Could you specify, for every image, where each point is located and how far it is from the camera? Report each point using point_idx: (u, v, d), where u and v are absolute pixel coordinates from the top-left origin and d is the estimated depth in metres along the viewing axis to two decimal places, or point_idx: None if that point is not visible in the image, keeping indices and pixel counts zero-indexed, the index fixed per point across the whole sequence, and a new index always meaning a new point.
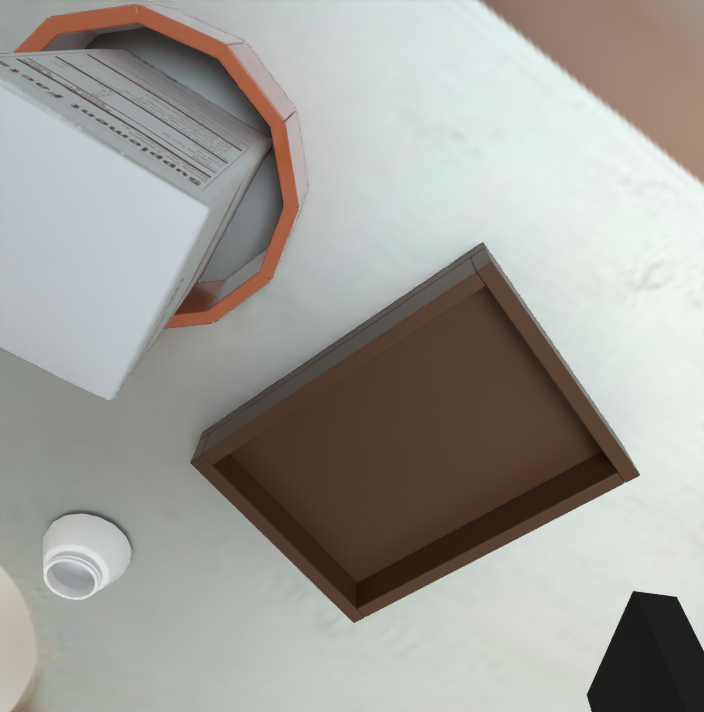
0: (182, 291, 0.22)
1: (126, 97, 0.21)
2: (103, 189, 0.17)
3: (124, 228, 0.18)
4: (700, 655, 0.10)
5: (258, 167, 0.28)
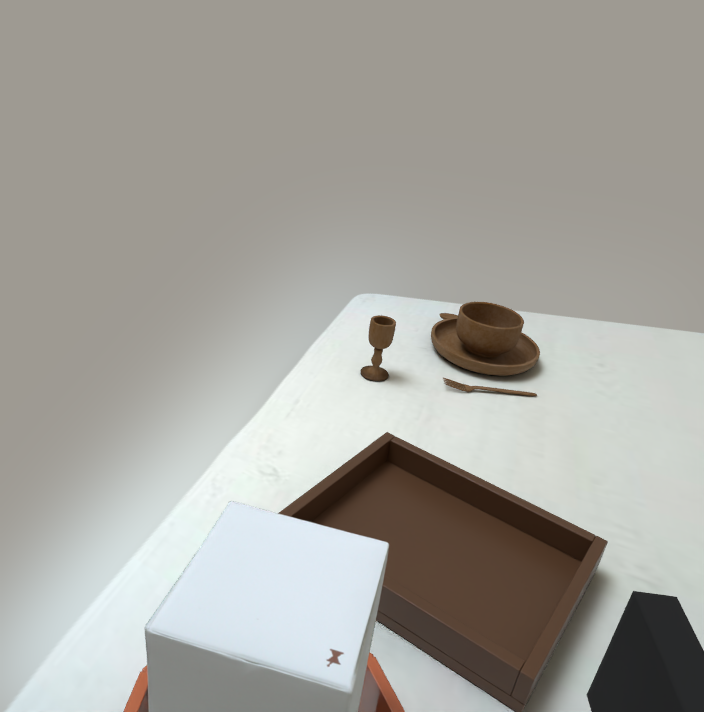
0: None
1: None
2: (227, 545, 0.26)
3: (252, 535, 0.26)
4: (700, 654, 0.10)
5: None
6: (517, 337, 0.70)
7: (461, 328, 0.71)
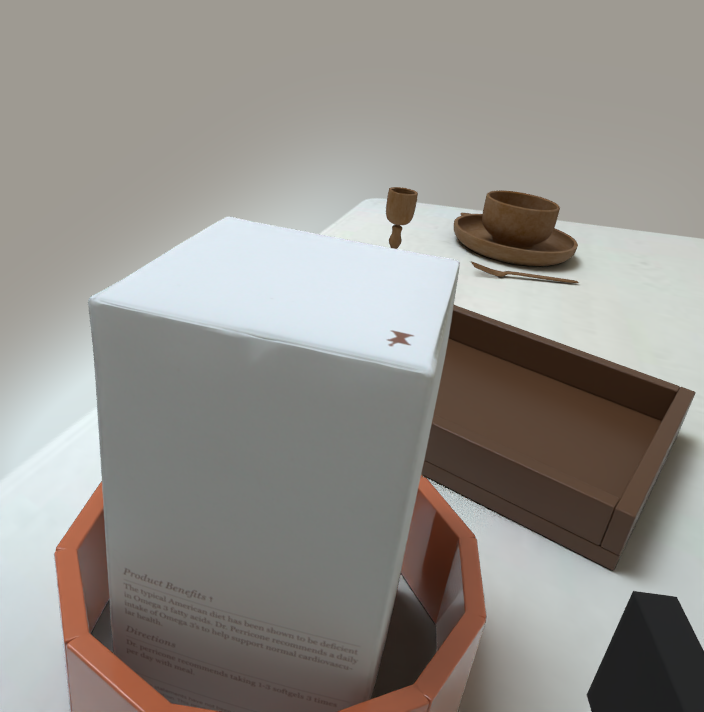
0: None
1: None
2: (223, 243, 0.17)
3: (260, 238, 0.18)
4: (701, 655, 0.10)
5: None
6: (553, 223, 0.62)
7: (489, 214, 0.62)
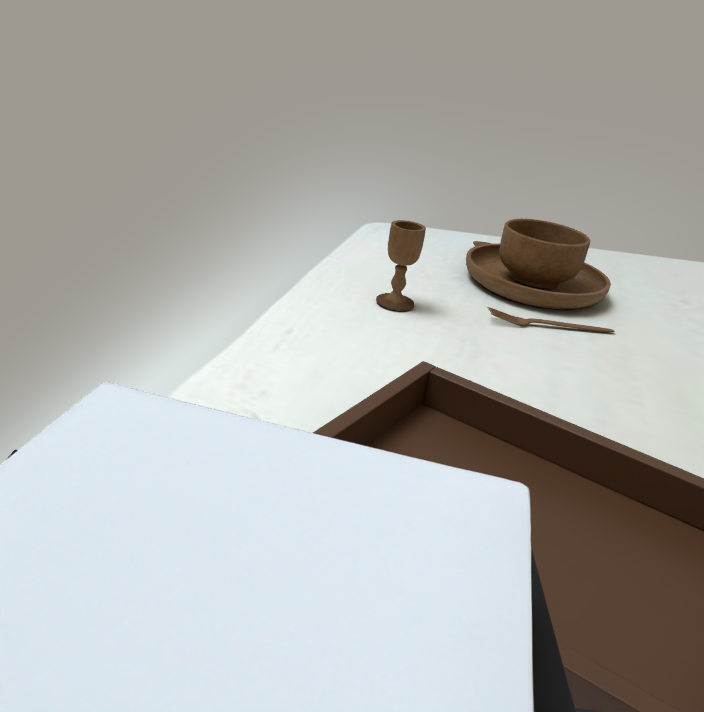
0: None
1: None
2: (59, 484, 0.08)
3: (143, 457, 0.09)
4: (533, 565, 0.12)
5: None
6: (583, 259, 0.53)
7: (508, 248, 0.54)
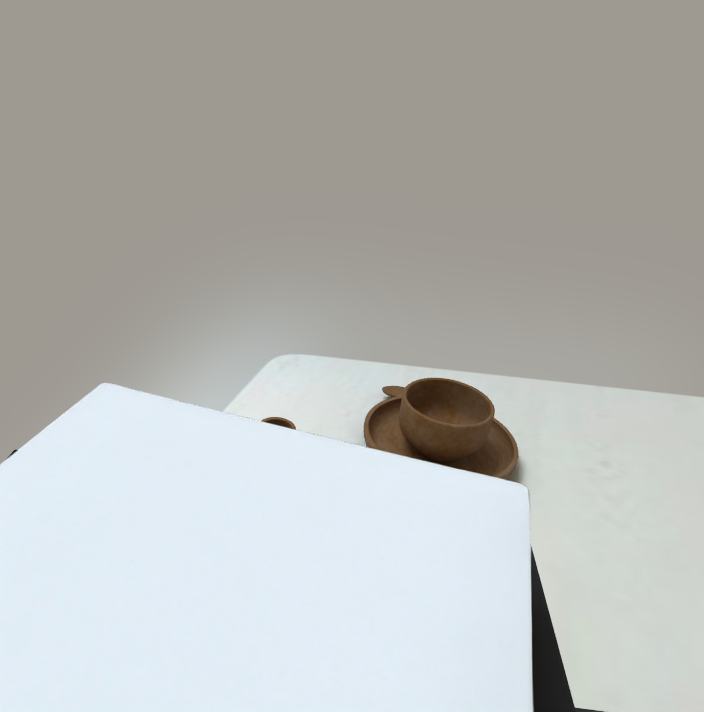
0: None
1: None
2: (58, 484, 0.08)
3: (143, 458, 0.09)
4: (533, 565, 0.12)
5: None
6: (486, 434, 0.49)
7: (404, 421, 0.49)
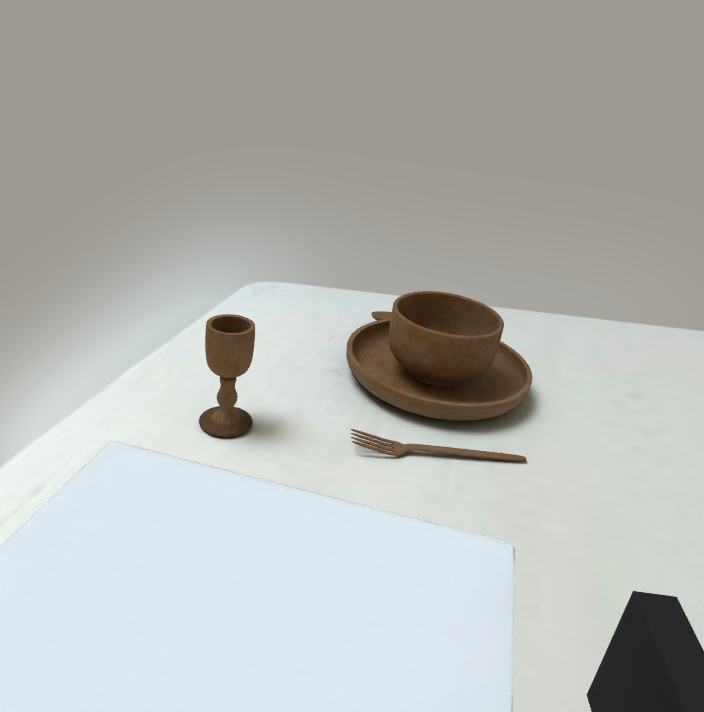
0: None
1: None
2: (71, 552, 0.09)
3: (150, 523, 0.10)
4: (700, 655, 0.10)
5: None
6: (493, 351, 0.40)
7: (395, 336, 0.41)
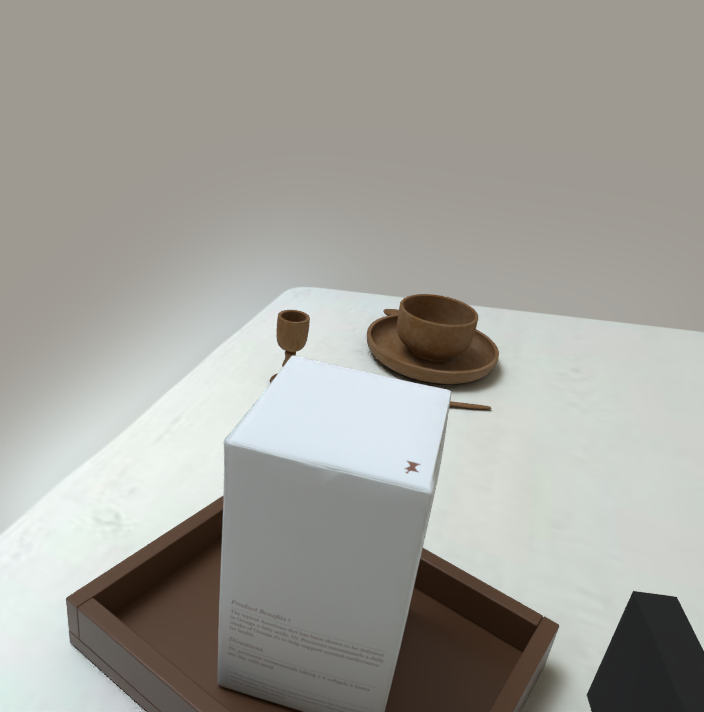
0: None
1: None
2: (295, 385, 0.26)
3: (318, 379, 0.27)
4: (701, 655, 0.10)
5: None
6: (470, 336, 0.57)
7: (401, 326, 0.58)
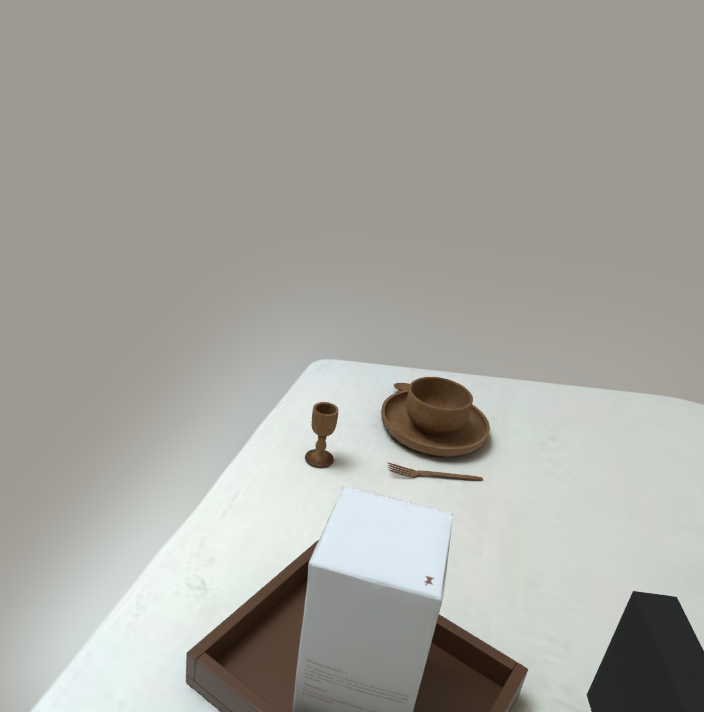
0: None
1: None
2: (348, 514, 0.39)
3: (363, 508, 0.40)
4: (701, 655, 0.10)
5: None
6: (466, 416, 0.70)
7: (410, 407, 0.71)
